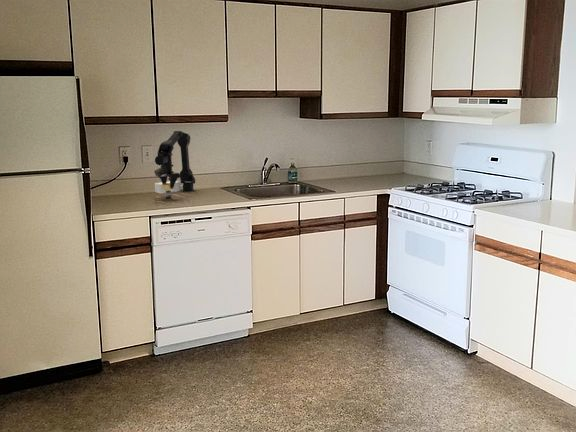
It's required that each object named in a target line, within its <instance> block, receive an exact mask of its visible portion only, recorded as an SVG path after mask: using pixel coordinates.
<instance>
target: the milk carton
mask: <svg viewBox="0 0 576 432" xmlns="http://www.w3.org/2000/svg"><path fill="white" fill-rule="evenodd" d="M166 183H170V180H169V181H168V180H167V182H166ZM181 190H182V191H183V183H181V181H180V180H176V182H175V184H174V189H172V190H170V191H171V193H174V192H176V193H177V192H180V191H181ZM165 191H166V190H163V189H162V181H161V182H155V183H154V193H157V194H165Z"/></svg>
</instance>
